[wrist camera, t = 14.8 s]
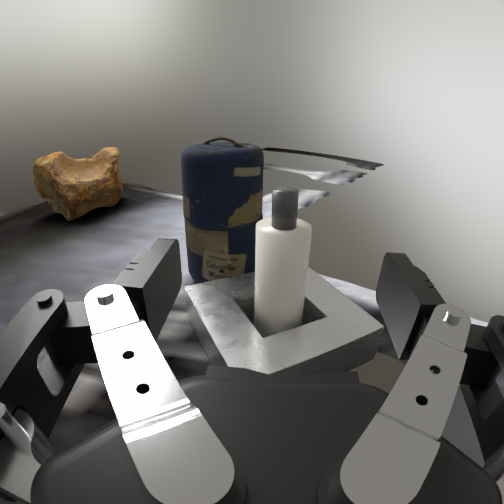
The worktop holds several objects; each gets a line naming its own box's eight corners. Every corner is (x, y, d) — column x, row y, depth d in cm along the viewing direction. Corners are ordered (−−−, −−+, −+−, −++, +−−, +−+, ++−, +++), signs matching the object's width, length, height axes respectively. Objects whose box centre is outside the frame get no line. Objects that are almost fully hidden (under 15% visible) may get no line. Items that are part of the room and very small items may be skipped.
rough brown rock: (36, 237, 56) (24, 169, 49) (39, 211, 68) (32, 155, 61) (134, 218, 68) (131, 152, 60) (121, 195, 80) (119, 141, 72)
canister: (229, 253, 48) (228, 132, 40) (275, 276, 42) (281, 137, 34) (175, 274, 42) (165, 138, 34) (219, 305, 36) (213, 142, 28)
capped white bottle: (266, 361, 28) (274, 200, 22) (246, 333, 32) (246, 185, 25) (307, 347, 30) (326, 194, 23) (284, 321, 33) (294, 181, 27)
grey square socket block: (239, 415, 22) (238, 383, 21) (188, 317, 34) (184, 286, 32) (373, 358, 28) (384, 326, 26) (298, 289, 39) (301, 260, 37)
